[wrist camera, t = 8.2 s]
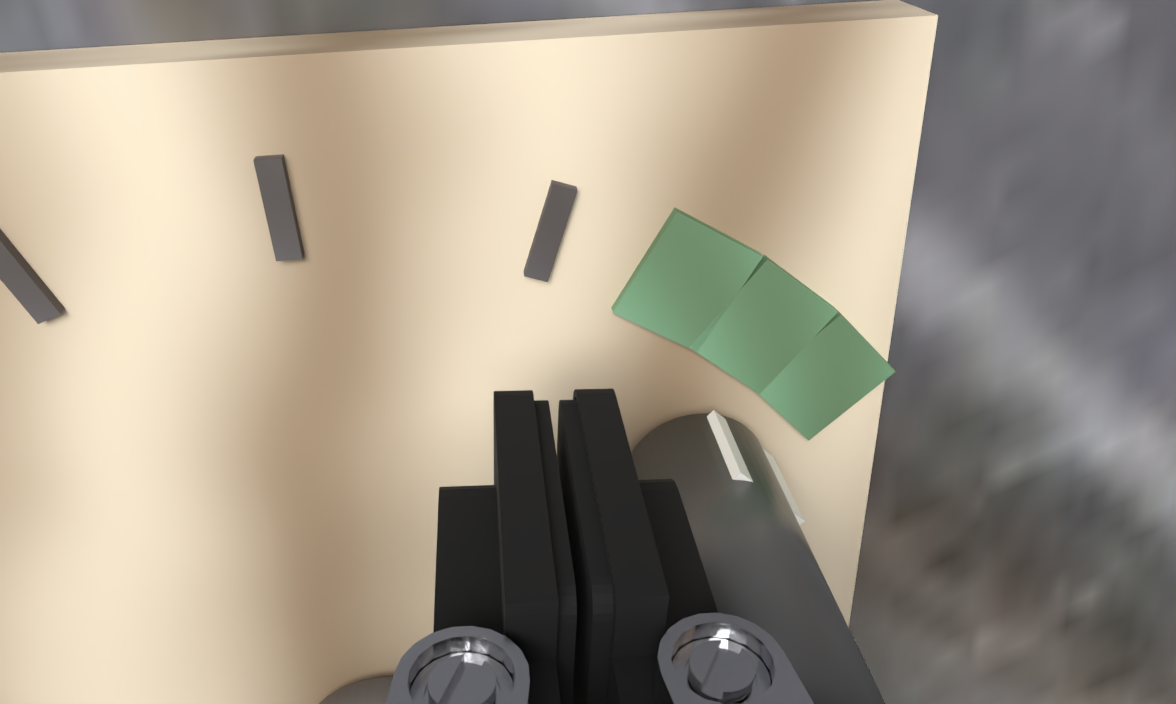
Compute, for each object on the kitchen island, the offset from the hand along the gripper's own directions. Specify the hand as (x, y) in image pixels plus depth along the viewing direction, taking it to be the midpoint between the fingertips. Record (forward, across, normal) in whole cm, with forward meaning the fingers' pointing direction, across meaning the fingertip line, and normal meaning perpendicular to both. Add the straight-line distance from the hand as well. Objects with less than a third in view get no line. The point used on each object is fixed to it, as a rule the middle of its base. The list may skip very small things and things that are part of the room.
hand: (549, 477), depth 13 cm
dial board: (+5, +3, +4) cm, 7 cm away
